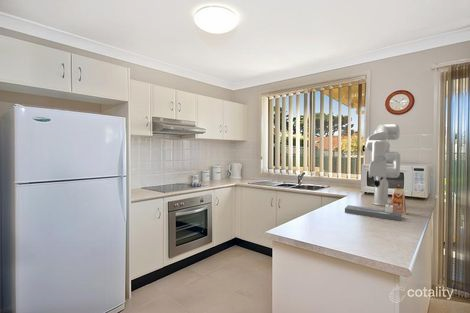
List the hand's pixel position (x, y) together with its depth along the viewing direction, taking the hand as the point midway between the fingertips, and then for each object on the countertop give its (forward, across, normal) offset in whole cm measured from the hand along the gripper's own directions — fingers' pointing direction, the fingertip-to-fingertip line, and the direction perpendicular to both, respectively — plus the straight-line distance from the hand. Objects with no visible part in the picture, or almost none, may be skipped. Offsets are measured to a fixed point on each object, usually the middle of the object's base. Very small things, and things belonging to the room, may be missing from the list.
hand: (376, 186), depth 167 cm
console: (+19, +2, +1) cm, 19 cm away
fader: (+15, -7, +1) cm, 17 cm away
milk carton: (+20, -12, -18) cm, 29 cm away
